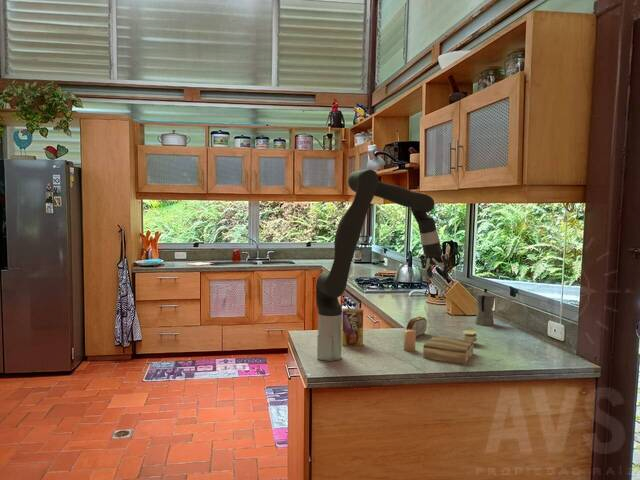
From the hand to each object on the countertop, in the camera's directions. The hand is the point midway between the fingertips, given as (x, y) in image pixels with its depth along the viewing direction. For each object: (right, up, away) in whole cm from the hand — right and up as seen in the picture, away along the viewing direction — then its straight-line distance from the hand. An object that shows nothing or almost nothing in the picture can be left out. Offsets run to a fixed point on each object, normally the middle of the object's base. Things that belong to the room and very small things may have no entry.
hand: (438, 277), depth 221 cm
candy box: (-37, -28, -2) cm, 47 cm away
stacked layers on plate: (+14, -29, +1) cm, 32 cm away
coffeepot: (+32, -27, +39) cm, 57 cm away
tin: (-7, -28, +14) cm, 32 cm away
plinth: (0, -30, -16) cm, 34 cm away
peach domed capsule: (-14, -29, -9) cm, 34 cm away
